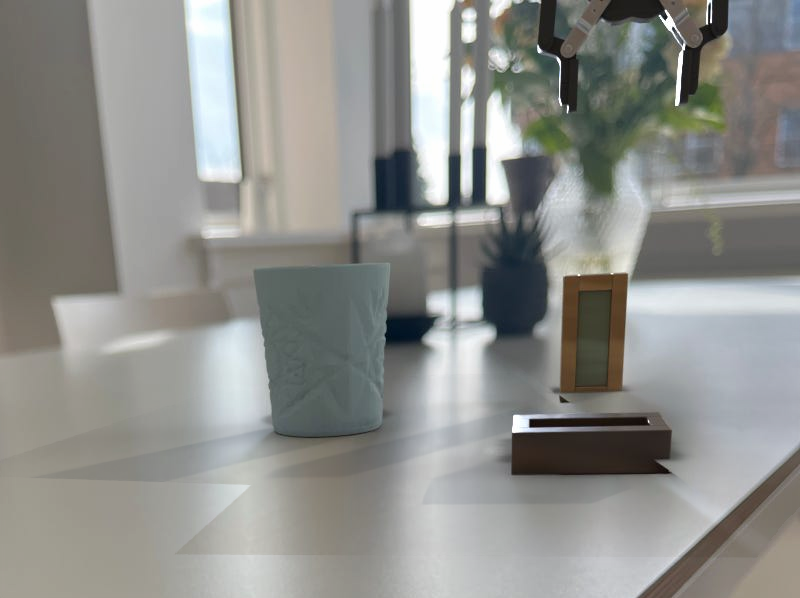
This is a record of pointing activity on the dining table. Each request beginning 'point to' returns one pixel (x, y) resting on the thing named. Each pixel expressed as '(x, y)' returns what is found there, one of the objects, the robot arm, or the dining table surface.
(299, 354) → the pale blue-green cup
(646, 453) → the holder
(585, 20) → the robot arm
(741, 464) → the dining table surface
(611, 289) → the frame
